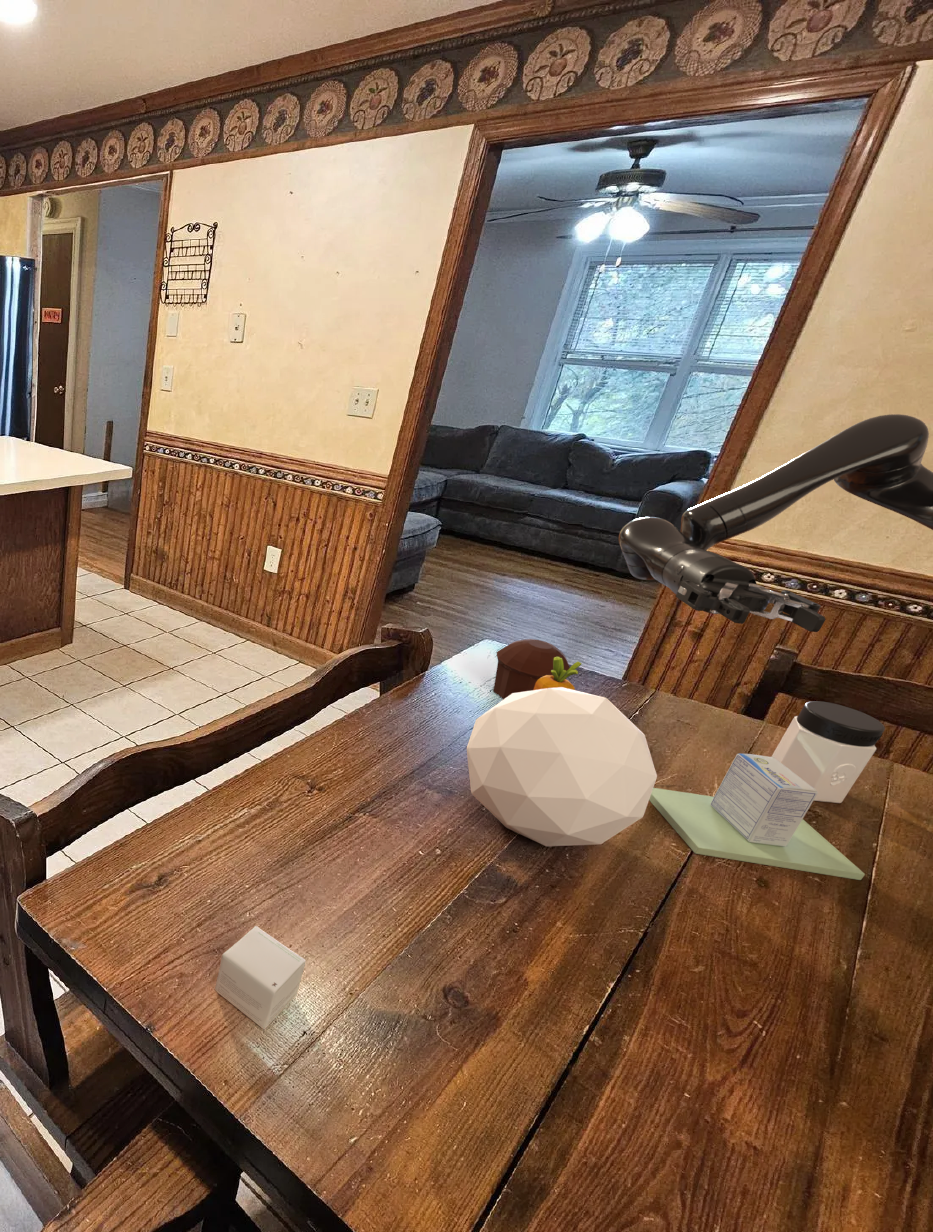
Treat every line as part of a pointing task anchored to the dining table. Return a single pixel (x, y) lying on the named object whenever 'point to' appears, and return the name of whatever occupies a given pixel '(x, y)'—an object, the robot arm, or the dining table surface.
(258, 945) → the small box
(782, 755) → the jar
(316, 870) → the dining table surface
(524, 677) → the muffin
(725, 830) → the mat
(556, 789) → the ball
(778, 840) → the medicine box
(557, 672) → the carrot
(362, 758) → the dining table surface
